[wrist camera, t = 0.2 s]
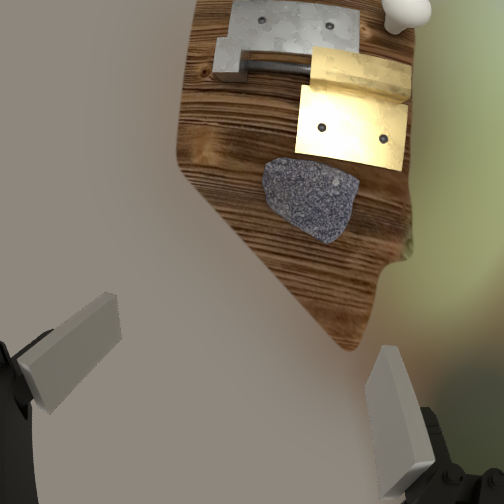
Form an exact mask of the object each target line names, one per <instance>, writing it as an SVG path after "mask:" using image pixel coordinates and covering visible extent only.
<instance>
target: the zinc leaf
mask: <svg viewBox="0 0 504 504" xmlns="http://www.w3.org/2000/svg"><path fill="white" fill-rule="evenodd" d="M313 46H317V47H325V48H331V49H338V50H344V51H349V52H355V53H359V10H354V9H348V8H342V7H336V6H329V5H322V4H314V3H304V2H291V1H270V0H240V1H233V4H232V10H231V17H230V23H229V29H228V36H227V37H217V42H216V49H215V56H214V63H213V70H212V72H213V73H214V74H215V75H216V76H217V77H218V78H219V79H221V80H222V81H223V82H243V83H247V75H248V70H257V71H273V72H286V73H296V74H305V75H311V65H307V64H298V63H287V62H274V61H255V60H249V59H250V53H271V54H286V55H297V56H306V57H312V50H313Z"/></svg>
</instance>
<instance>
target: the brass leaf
mask: <svg viewBox="0 0 504 504" xmlns="http://www.w3.org/2000/svg"><path fill="white" fill-rule="evenodd" d="M410 98H411V66H408V65H405V64H401V63H398V62H394V61H390V60H386V59H382V58H378V57H374V56H369V55H364V54H360V53H355V52H349V51H344V50H338V49H331V48H325V47H317V46H313V50H312V63H311V75H310V86H306V85H302V90H301V100H300V110H299V120H298V129H297V139H296V148H295V153H302V154H309V155H316V156H323V157H329V158H335V159H341V160H347V161H352V162H358V163H363V164H368V165H373V166H378V167H382V168H387V169H392V170H396V171H402V163H403V155H404V146H405V136H406V124H407V110H408V105H404V104H401V103H403V102H405V101H406V100H408V99H410Z"/></svg>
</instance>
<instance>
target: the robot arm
mask: <svg viewBox="0 0 504 504" xmlns="http://www.w3.org/2000/svg"><path fill="white" fill-rule="evenodd" d="M121 339H122V335H121V328H120V320H119V311H118V302H117V295H115V294H111V293H107V292H104V293H103V294H102V295H100V296H99V297H98V298H96V299H95V300H93V301H92V302H91V303H89V304H88V305H87V306H85V307H84V308H82V309H81V310H80V311H78V312H77V313H76V314H75V315H73V316H72V317H71V318H69V319H68V320H66V321H65V322H64V323H63V324H61V325H60V326H58V327H57V328H56V329H51V330H49V331H46V332H44V333H42V334H41V335H40V336H38V337H37V339H35V340H33V341H32V342H31V344H28V345H27V346H26V347H24V348H23V349H22V350H20V351H19V352H18V353H17V354H15V355H14V356H13V357H12V358H10V356H9V353H8V350H7V348H6V345H5V344H4V343H3V342H2V341H0V504H39V503H38V497H37V490H36V483H35V475H34V463H33V448H32V406H31V403H30V401H31V400H32V399H34V400H35V402H36V404H37V406H38V407H39V408H40V409H41V410H43V411H44V412H46V413H47V414H49V415H50V414H51V413H52V412H53V411H54V410H55V409H56V408H57V407H58V405H60V404H61V402H62V401H63V400H64V399H65V398H66V397H67V396H68V395H69V394H70V393H71V392H72V391H73V390H74V388H75V387H76V386H77V385H78V384H79V383H80V382H81V381H82V380H83V379H84V378H85V377H86V376H87V375H88V374H89V373H90V371H91V370H92V369H93V368H94V367H95V366H96V365H97V364H98V363H99V362H100V361H101V360H102V359H103V358H104V357H105V356H106V355H107V354H108V353H109V352H110V351H111V349H113V348H114V347H115V345H116V344H117V343H118V342H119V341H120V340H121ZM365 394H366V399H367V405H368V412H369V418H370V425H371V431H372V439H373V446H374V454H375V463H376V471H377V480H378V481H377V482H378V493H379V500H386V499H396V498H398V497H399V496H400V495H402V494H403V493H404V492H405V496H406V500H404V501H403V502H402V503H401V504H504V473H503V472H502V471H501V470H500V469H497V468H491V469H489V470H487V471H486V472H485V473H484V474H483V475H482V476H479V475H470V474H465V472H464V470H463V469H462V468H461V467H460V466H459V465H457V464H454V463H452V462H451V459H450V455H449V452H448V449H447V446H446V443H445V440H444V437H443V435H442V431H441V428H440V427H439V422H438V419H437V417H436V415H435V414H434V413H433V411H432V410H431V409H430V408H429V407H419V405H418V402H417V398H416V396H415V393H414V390H413V387H412V384H411V382H410V379H409V376H408V374H407V371H406V368H405V365H404V363H403V360H402V358H401V355H400V353H399V350H398V348H397V346H389V345H382V347H381V350H380V352H379V355H378V358H377V360H376V363H375V365H374V367H373V370H372V372H371V374H370V377H369V379H368V381H367V383H366V386H365Z"/></svg>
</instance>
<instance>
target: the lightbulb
mask: <svg viewBox="0 0 504 504" xmlns="http://www.w3.org/2000/svg"><path fill="white" fill-rule="evenodd" d="M382 6H383V9H384V11H385V13H386V16H385V23H384V27H385V29H386V30H387V31H388V32H389V33H391V34H395V35H396V34H399V33H400V32H401V31H403V30H405V29H406V28H407V27H408V28H416V27H420V26H423V25H424V24H426V23H427V22H428V20H429V19H430V16H431V5H430V3H429V0H382Z"/></svg>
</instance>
